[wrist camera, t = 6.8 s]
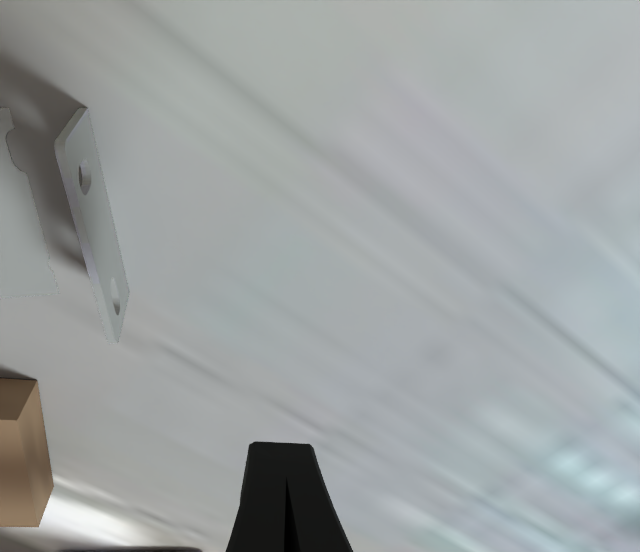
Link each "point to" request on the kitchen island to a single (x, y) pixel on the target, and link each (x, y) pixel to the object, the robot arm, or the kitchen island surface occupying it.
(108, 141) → the kitchen island surface
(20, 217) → the bracket
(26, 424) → the socket
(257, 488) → the robot arm
